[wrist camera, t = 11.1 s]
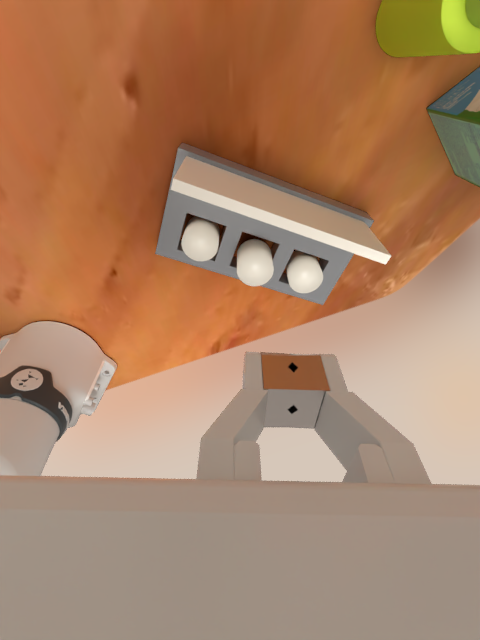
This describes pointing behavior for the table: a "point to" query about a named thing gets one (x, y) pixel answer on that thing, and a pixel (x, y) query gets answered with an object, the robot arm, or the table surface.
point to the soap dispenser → (428, 27)
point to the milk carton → (460, 126)
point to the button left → (200, 239)
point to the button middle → (254, 263)
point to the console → (263, 220)
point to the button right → (303, 272)
